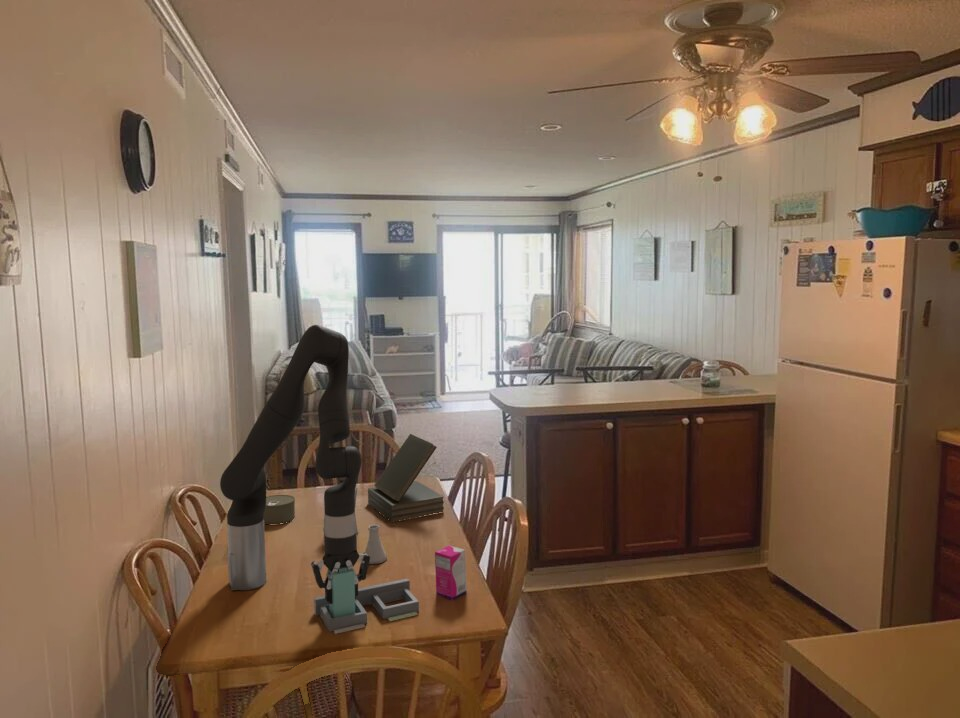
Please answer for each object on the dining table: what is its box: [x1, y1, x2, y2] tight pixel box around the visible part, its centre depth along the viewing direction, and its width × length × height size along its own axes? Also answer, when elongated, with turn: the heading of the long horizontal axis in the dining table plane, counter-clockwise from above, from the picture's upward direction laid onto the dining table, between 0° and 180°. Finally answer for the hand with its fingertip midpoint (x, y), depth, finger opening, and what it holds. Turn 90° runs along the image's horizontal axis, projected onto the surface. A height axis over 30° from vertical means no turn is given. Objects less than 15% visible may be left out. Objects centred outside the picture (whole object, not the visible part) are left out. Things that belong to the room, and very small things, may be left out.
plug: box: [329, 566, 355, 618], centre depth 162 cm, size 5×5×13 cm
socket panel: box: [313, 578, 420, 635], centre depth 165 cm, size 24×12×4 cm, turn 116°
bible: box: [367, 433, 445, 523], centre depth 243 cm, size 23×20×25 cm
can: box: [264, 494, 296, 525], centre depth 233 cm, size 12×12×7 cm
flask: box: [364, 524, 387, 565], centre depth 197 cm, size 7×7×10 cm
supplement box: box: [434, 545, 467, 601], centre depth 175 cm, size 6×6×12 cm
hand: (341, 599), depth 162 cm, fingers closed on plug, 5 cm apart
